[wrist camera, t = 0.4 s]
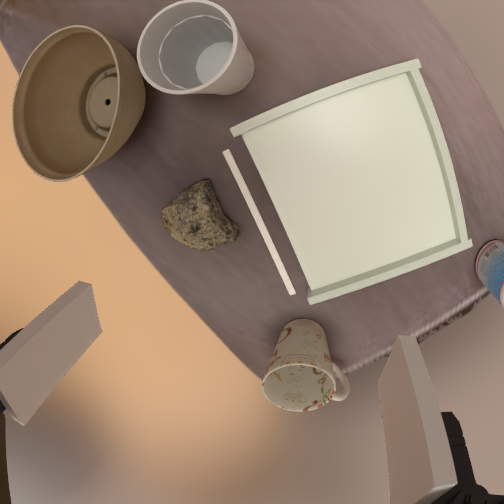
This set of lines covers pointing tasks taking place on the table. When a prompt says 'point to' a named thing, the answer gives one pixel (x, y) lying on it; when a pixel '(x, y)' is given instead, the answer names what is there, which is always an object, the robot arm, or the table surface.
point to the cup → (194, 50)
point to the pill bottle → (492, 268)
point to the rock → (198, 218)
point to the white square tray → (360, 179)
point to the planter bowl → (75, 102)
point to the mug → (302, 369)
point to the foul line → (259, 220)
